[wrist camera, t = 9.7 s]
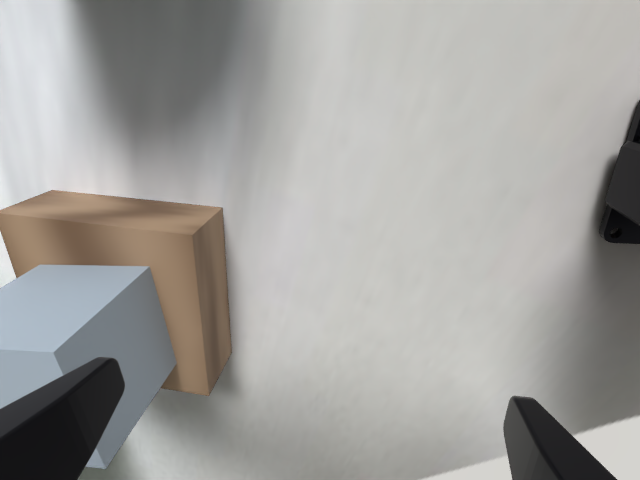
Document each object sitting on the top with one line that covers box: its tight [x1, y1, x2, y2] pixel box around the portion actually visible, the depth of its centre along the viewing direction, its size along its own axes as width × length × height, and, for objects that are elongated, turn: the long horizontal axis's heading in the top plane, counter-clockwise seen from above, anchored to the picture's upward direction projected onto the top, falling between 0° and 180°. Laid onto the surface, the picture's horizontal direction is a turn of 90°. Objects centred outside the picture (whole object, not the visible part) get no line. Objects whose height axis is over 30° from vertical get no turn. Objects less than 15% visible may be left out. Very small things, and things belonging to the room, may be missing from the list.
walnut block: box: [0, 190, 232, 396], centre depth 22 cm, size 10×10×4 cm
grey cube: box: [0, 265, 177, 469], centre depth 17 cm, size 6×6×6 cm
